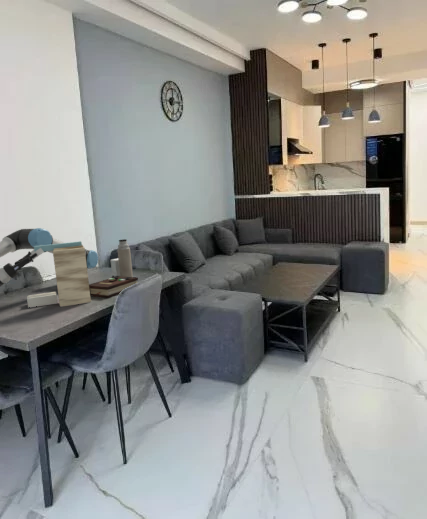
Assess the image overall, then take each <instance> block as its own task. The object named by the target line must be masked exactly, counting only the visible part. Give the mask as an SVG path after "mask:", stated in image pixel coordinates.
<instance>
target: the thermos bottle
mask: <svg viewBox="0 0 427 519" xmlns="http://www.w3.org/2000/svg"><path fill="white" fill-rule="evenodd" d="M118 242H119V243H118V244H117V247H118V248H117V258H118V260H119V269H120V276H122V277H134V274H133V265H132V264H133V263H132V255H131V254H132V253H131V248H130V245H129V244H128V240H127V239H125V238H124V239H119V240H118Z"/></svg>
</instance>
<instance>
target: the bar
mask: <svg viewBox="0 0 427 519" xmlns="http://www.w3.org/2000/svg"><path fill="white" fill-rule="evenodd" d="M82 245H83V244H82V241H81V240H80V241H72V242H71V241H70V242H63V243H60V244H50V245H41V246H34V249H33V250H34V252H35V251H37V250H38V249H40V248H41V249H42V250H43V251H53V250H54V249H55V248H64V247H73V246H82Z"/></svg>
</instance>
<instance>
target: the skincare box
mask: <svg viewBox="0 0 427 519" xmlns="http://www.w3.org/2000/svg"><path fill="white" fill-rule="evenodd" d="M110 267H111V277H112V276H114V277H115V276H120V269H119V260H118V257H117V258H112V259H110Z"/></svg>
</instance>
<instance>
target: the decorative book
mask: <svg viewBox="0 0 427 519" xmlns="http://www.w3.org/2000/svg"><path fill="white" fill-rule="evenodd" d="M138 281H139V277H135V276H133V277H122V276H115V277H114V276H112V275H111V277H110V278H107V279H103V280H99V281H96V282H93V283H89V289H90V297H94V298H96V297H97V298H106V299H111V298H113V297H116V296H119V295H120V294H119V293H120V292H121V291H122V290H123V289H125V288H127V287H129V286H131V285H133V284H135V283H136V284H137V283H138ZM118 294H119V295H118Z"/></svg>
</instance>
